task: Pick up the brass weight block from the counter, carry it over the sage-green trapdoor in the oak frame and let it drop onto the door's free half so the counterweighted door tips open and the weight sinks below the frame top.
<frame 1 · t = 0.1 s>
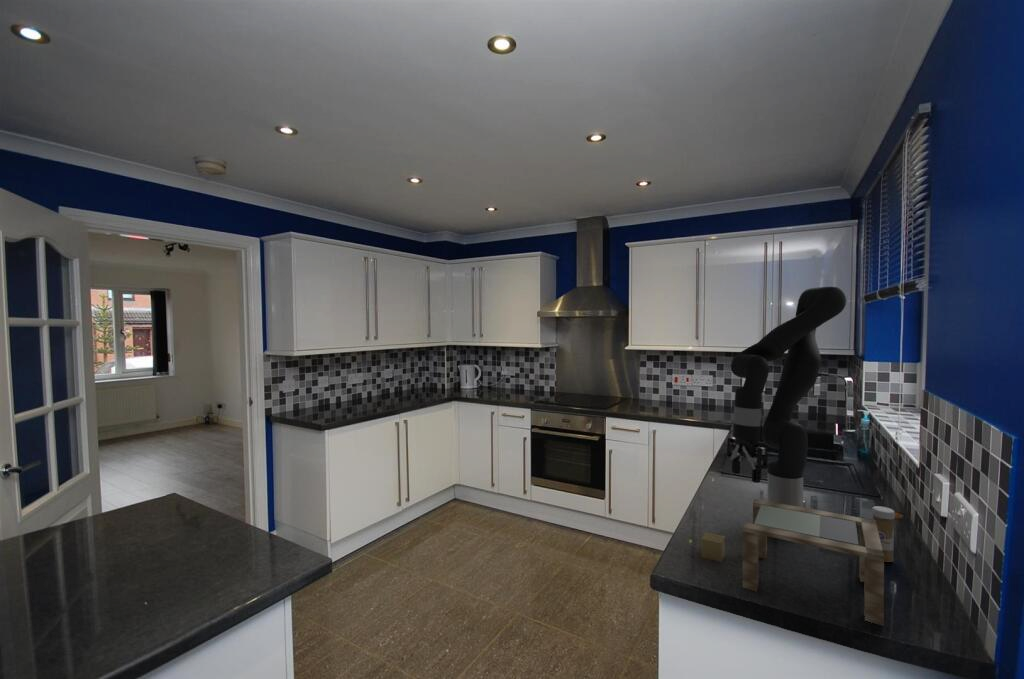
hand: (745, 477, 136), 17 cm above the counter, tool pointing down, fingers open, 8 cm apart
trapdoor: (804, 529, 111), point 13 cm above the counter, hinge at 0.0°
brass weight: (713, 555, 124), on the counter
sprinkles bottle: (883, 560, 121), on the counter
trapdoor frame: (809, 583, 110), on the counter
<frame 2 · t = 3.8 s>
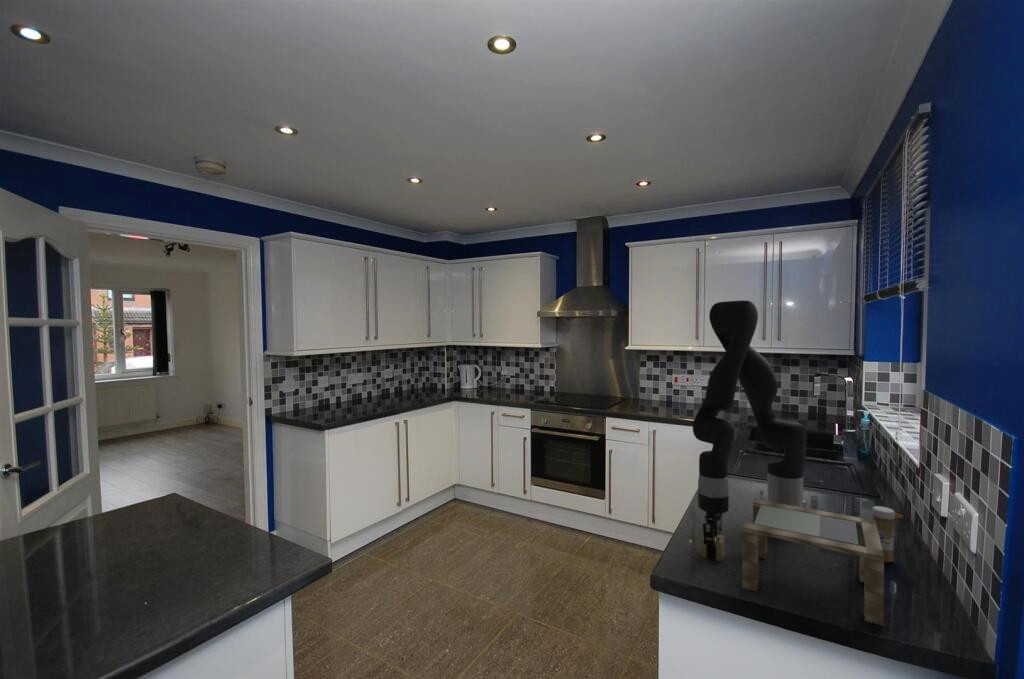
hand: (713, 553, 124), 0 cm above the counter, tool pointing down, fingers closed on brass weight, 5 cm apart
brass weight: (713, 555, 124), on the counter, touching gripper
everything else where it was.
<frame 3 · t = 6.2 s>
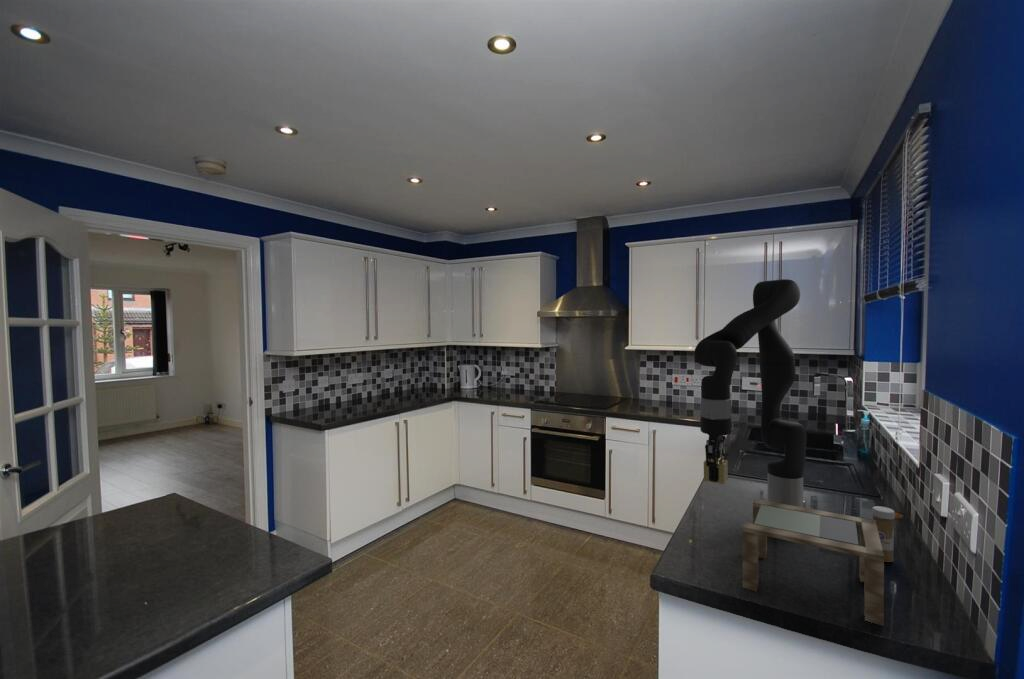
hand: (715, 477, 124), 21 cm above the counter, tool pointing down, fingers closed on brass weight, 5 cm apart
brass weight: (715, 479, 124), point 21 cm above the counter, touching gripper
everything else where it was.
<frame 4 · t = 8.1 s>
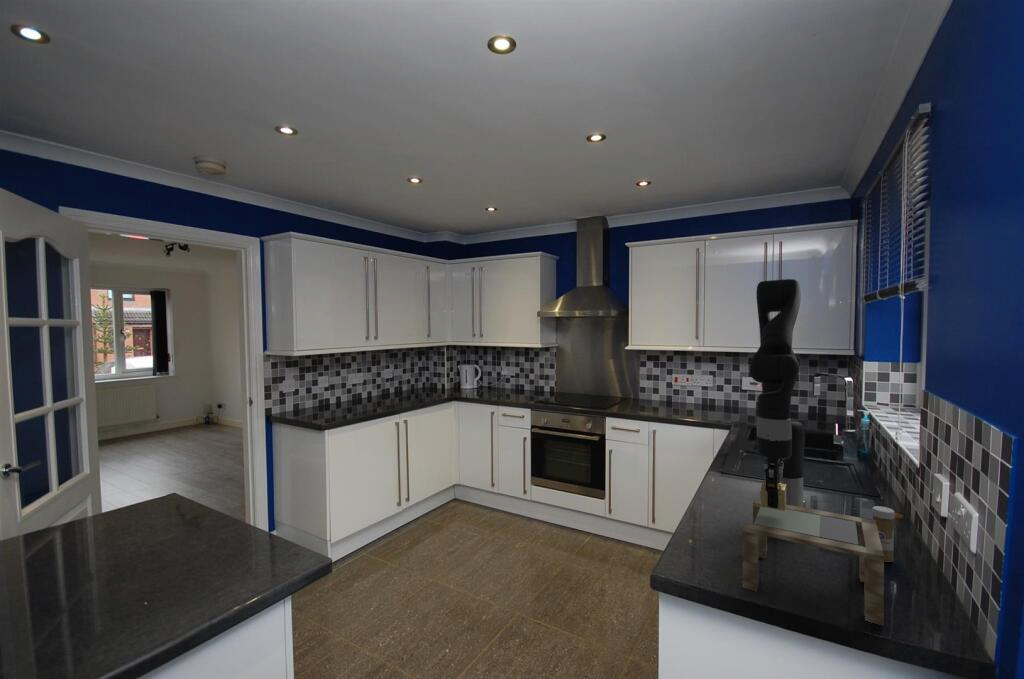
hand: (773, 503, 114), 18 cm above the counter, tool pointing down, fingers closed on brass weight, 5 cm apart
brass weight: (773, 505, 114), point 17 cm above the counter, touching gripper
everything else where it was.
when the fingers open (18 cm above the counter, at t = 8.5 s): brass weight drops 15 cm and tips over, point 2 cm above the counter.
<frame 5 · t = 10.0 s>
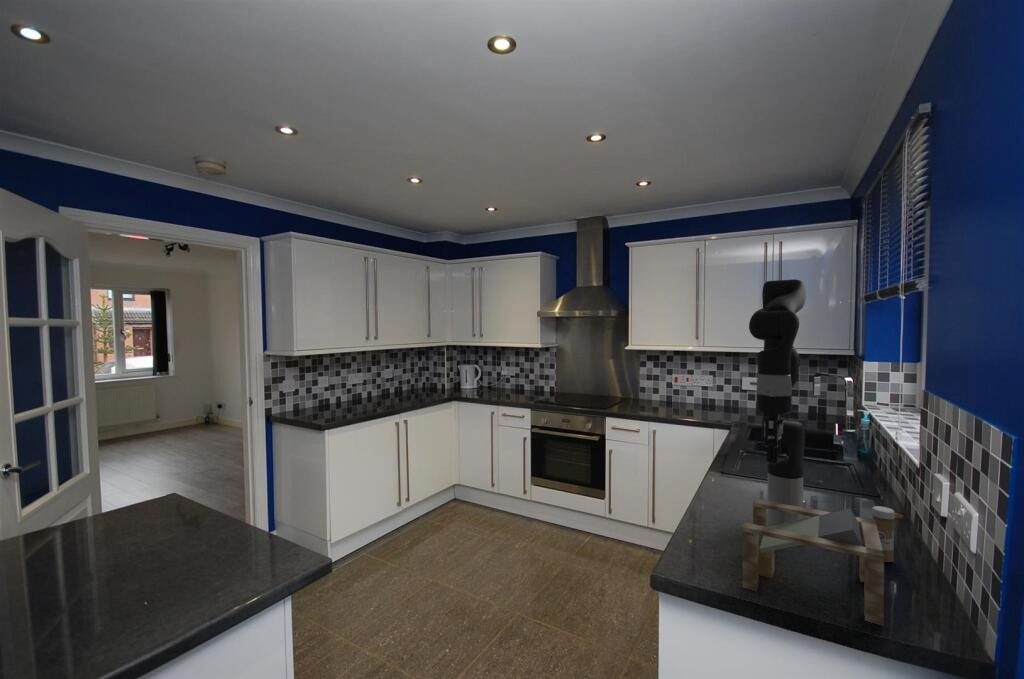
hand: (773, 457, 114), 29 cm above the counter, tool pointing down, fingers open, 8 cm apart
trapdoor: (809, 535, 110), point 12 cm above the counter, hinge at -26.2°
brass weight: (773, 564, 115), point 2 cm above the counter, tilted 90°
everything else where it was.
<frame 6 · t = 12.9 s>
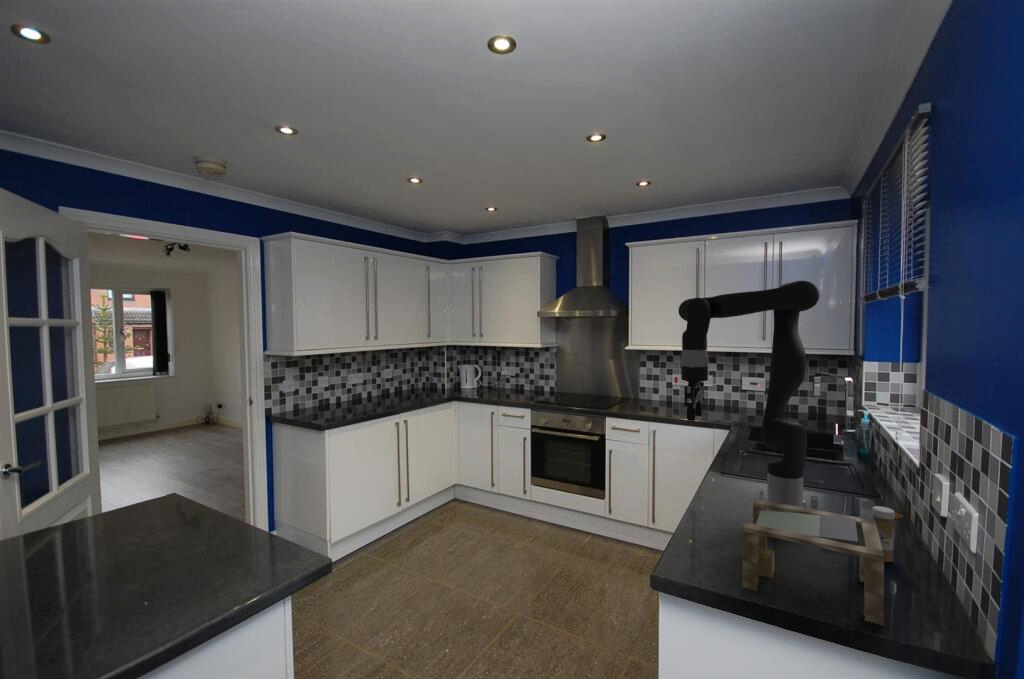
hand: (694, 418, 139), 34 cm above the counter, tool pointing down, fingers open, 8 cm apart
trapdoor: (805, 531, 111), point 12 cm above the counter, hinge at -5.7°
everything else where it was.
at the end: brass weight point 2.4 cm above the counter; brass weight 7.6 cm from the trapdoor frame (horizontally); the gripper is holding nothing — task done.
